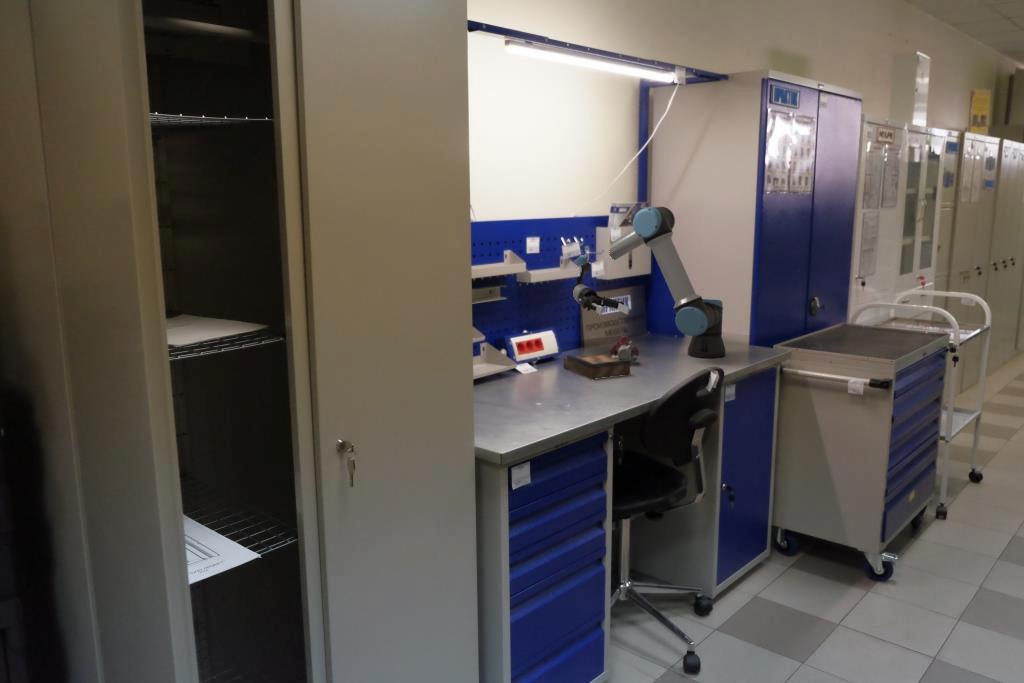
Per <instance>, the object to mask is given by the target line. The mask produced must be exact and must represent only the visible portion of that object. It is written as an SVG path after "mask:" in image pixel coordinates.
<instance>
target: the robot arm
mask: <svg viewBox="0 0 1024 683" xmlns="http://www.w3.org/2000/svg"><path fill="white" fill-rule="evenodd" d="M675 223H676V218H675V215H674V213H673V211H672V210H671V209H670V208H668V207H666V206H665V207H664V206H647V207H643V208H642V209H639V210H638V211H637V212H636V214H635V215H634V217H633V221H632V229H631V230H629V231H627V232H625V233H624V234H623V235H621V236H619V237H617V238H616V239H615V241H614V240H613V241H614V242H613V241H612V242H613V243H612V244H611V247H610V250H609V251H610V252H609V253H610V254H609V255H610V256H611V257H612V259H614V261H617V260H618V259H620V258H621V257H623V256H625V255H626V254H628V253H630V252H632V251H633V250H635V249H637V248H639V247H640V246H641V247H642V245H645V247H649V248H650V249H651V251H652V254H653V256H654V258H655V260H656V262H657V265H658V267H659V268H660V271H661V274H662V276H663V278H664V281H665V283H666V285H667V287H668V290H669V291H670V294H671V296H672V299H673V300H674V302H675V303H674V306H673V311H674V313H675V321H674V322H675V326H676V327H677V330H678V331H679V332H680V333H682V334H683V335H686V336H688V337H691V338H690V341H689V345H688V347H687V355H688V356H690V357H693V356H694V358H700V357H703V358H704V359H711V358H710V357H718V358H721V357H720V356H723V357H725V356H726V353H727V350H726V347H725V343H724V341H723V337H722V336H723V335H722V334H723V313H724V312H723V310H724V306H723V305H724V304H723V301H722V300H720V299H709V298H703V297H702V295H700V294H697V293H696V291H695V288H694V287H693V285H692V281H691V280H690V277H689V274H688V273H687V271H686V268H685V266H684V264H683V261H682V260H681V258H680V255H679V252H678V251H677V249H676V246H675V244H674V243H673V239H672V237H673V234H674V232H673V229H674V227H675ZM587 256H588V255H587V254H586V255H581V256H580V258H577V259H576V260H574V262H575V263H576V264H578V265H581V267H582V273H581V276H580V277H578V278H577V283H576V284H575V285H574V287H573V289H574V290H573V297H574V299H575V300H576V301H575V300H574V299H573V300H574V301H575V302H577V304H580V306H581V307H582V309H586V310H587V311H593V312H594V313H596V314H598V315H600V316H601V315H603V311H604V308H603V307H608V308H613V309H617V310H618V311H619V312H622V313H623V314H625V315H629V314H630V311H631V310H630V309H631V308H630V307H628V306H626V305H625V303H624V301H621V300H620V301H619V300H616V299H612V298H609V297H607V296H603V297H602V296H600V295H598V294H597V291H596V290H594V289H592V288H590V287H589V286H587V285H585V284H583V283H582V282H584V279H585V278H584V277H585V275H586V274H585V273H587V272H589V270H590V264H589V263H587V258H588V257H587ZM724 355H725V356H724ZM703 358H702V359H703Z"/></svg>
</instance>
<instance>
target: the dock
mask: <svg viewBox="0 0 1024 683" xmlns="http://www.w3.org/2000/svg"><path fill="white" fill-rule="evenodd" d="M565 368H566V369H565ZM563 369H565V370H567V369H568V370H567V371H570V370H571V372H572V371H573V372H572V373H575V374H577V373H578V375H579V374H581V375H580V376H582V375H583V376H582V377H584V376H586V377H585V378H587V377H588V378H587V379H589V378H591V379H594V380H596V379H595V378H602V377H610V376H617V377H621V376H620V375H625V376H630V375H631V365H630V360H620V361H619V360H616V359H613V358H611V357H610V356H608V355H605V354H603V353H602V354H601V353H594V354H586V355H577V356H574V355H572V354H568V355H566V357H563ZM629 374H630V375H629ZM610 378H611V377H610ZM591 379H590V380H591ZM602 379H603V378H602Z"/></svg>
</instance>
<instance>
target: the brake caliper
mask: <svg viewBox="0 0 1024 683" xmlns="http://www.w3.org/2000/svg"><path fill="white" fill-rule="evenodd" d="M639 353H640V351H639V348H638V347H637V346H636V345H635V344H634V343H633V341H632V340H631V339H629V337H628V336H627V335H622V336H621V337H620V338H619V340H618V341H616V342H615V343H614V344H613V345H612V346H611V347H610V348H609V354H610V356H609V357H611V358H613V359H616V360H619V361H620V360H630V364H633V365H634V364H635V363H636V362H637V360H638V357H639Z"/></svg>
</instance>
